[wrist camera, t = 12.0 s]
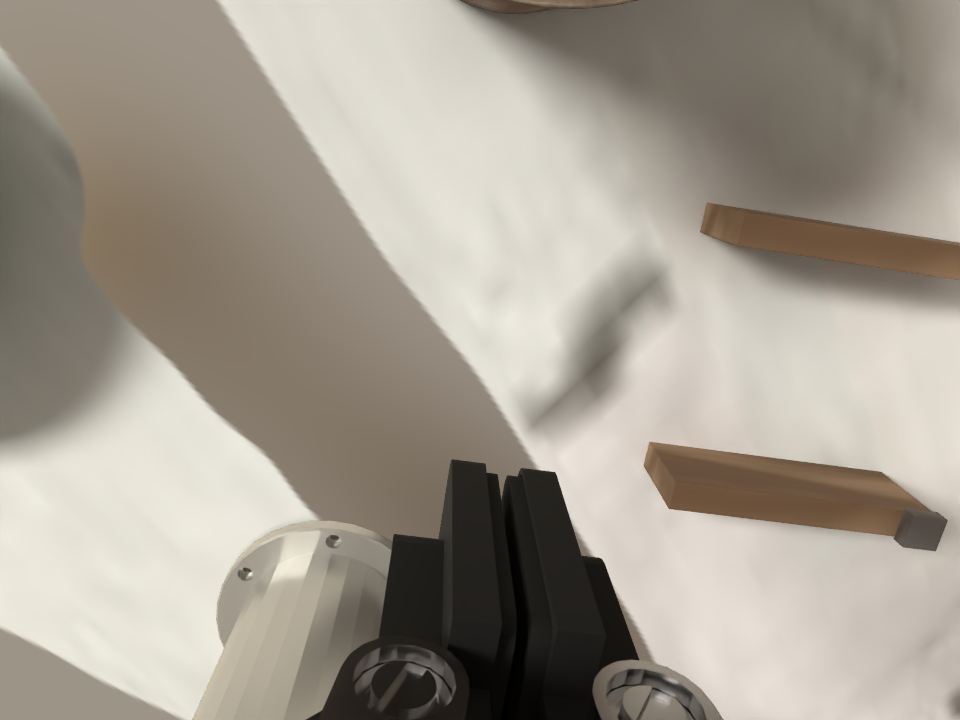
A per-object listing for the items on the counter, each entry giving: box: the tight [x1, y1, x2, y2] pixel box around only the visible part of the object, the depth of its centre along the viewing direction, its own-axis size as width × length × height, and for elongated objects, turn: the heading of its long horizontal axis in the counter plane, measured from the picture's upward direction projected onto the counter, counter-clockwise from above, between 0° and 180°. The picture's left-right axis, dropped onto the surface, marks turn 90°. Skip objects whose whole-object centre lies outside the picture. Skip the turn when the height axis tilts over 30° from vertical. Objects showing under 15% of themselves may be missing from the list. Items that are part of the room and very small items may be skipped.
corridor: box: [644, 203, 960, 551], centre depth 37 cm, size 15×14×6 cm
